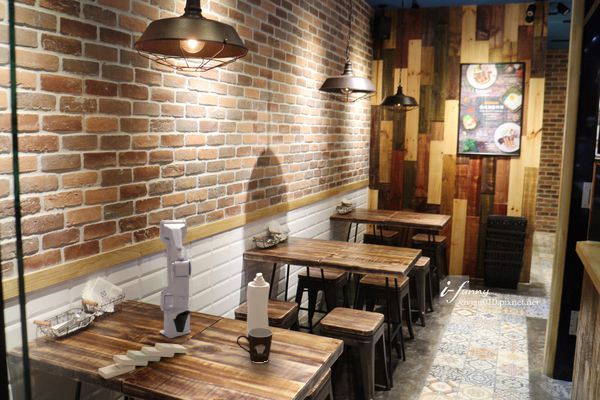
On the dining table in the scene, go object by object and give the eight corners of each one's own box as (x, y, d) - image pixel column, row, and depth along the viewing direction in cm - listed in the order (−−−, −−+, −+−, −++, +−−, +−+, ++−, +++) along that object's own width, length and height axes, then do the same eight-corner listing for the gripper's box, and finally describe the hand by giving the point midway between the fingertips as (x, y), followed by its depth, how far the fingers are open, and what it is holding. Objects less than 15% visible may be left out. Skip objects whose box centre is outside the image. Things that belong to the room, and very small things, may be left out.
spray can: (236, 337, 198) (238, 274, 195) (255, 330, 207) (257, 269, 204) (259, 345, 191) (261, 280, 188) (277, 337, 200) (280, 275, 197)
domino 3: (152, 352, 178) (127, 350, 171) (160, 356, 175) (135, 354, 168) (151, 356, 178) (126, 355, 171) (159, 361, 175) (134, 359, 167)
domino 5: (178, 344, 186) (155, 342, 178) (187, 348, 182) (163, 347, 175) (177, 348, 185) (154, 347, 178) (185, 353, 182) (162, 352, 175)
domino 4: (166, 348, 182) (142, 346, 175) (174, 352, 179) (149, 351, 171) (165, 352, 182) (140, 351, 175) (173, 357, 178) (148, 355, 171)
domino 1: (127, 360, 171) (98, 368, 164) (135, 365, 168) (105, 374, 161) (127, 364, 172) (98, 373, 164) (135, 369, 168) (105, 379, 161)
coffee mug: (275, 357, 182) (276, 330, 181) (266, 367, 174) (267, 338, 173) (245, 351, 186) (246, 324, 185) (234, 360, 178) (235, 333, 177)
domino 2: (140, 355, 175) (114, 354, 167) (148, 360, 171) (122, 359, 164) (138, 360, 174) (112, 359, 167) (146, 365, 171) (120, 364, 164)
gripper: (177, 287, 188) (177, 323, 190) (161, 299, 174) (160, 338, 176) (196, 289, 187) (195, 325, 189) (180, 301, 173) (180, 340, 175)
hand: (180, 331), depth 182 cm, fingers closed
